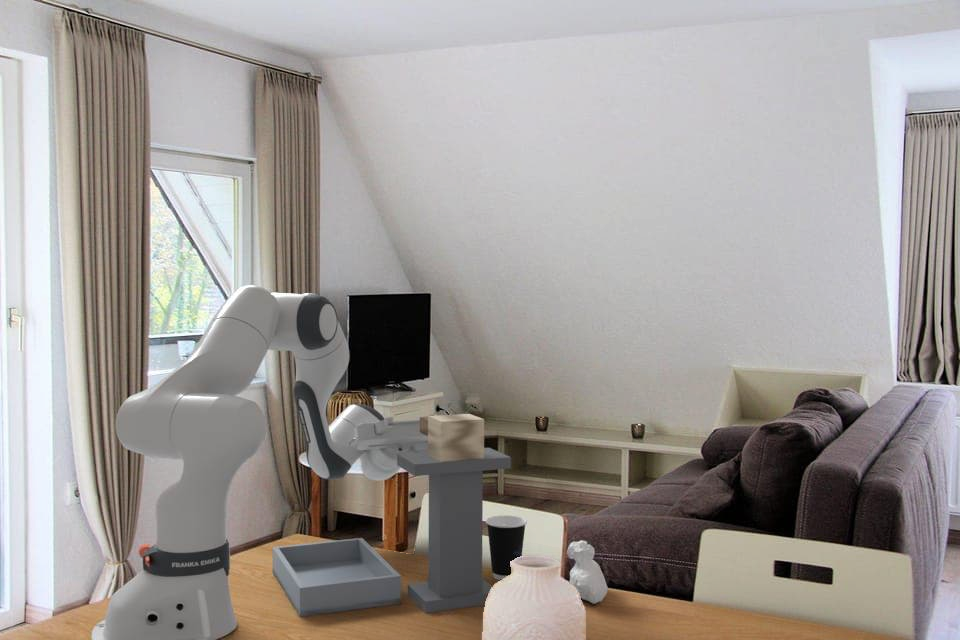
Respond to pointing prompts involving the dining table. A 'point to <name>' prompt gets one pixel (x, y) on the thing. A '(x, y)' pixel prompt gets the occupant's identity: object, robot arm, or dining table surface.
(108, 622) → the robot arm
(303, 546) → the tray
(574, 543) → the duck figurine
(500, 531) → the dixie cup
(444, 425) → the mallet
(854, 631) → the dining table surface
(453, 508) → the stand
